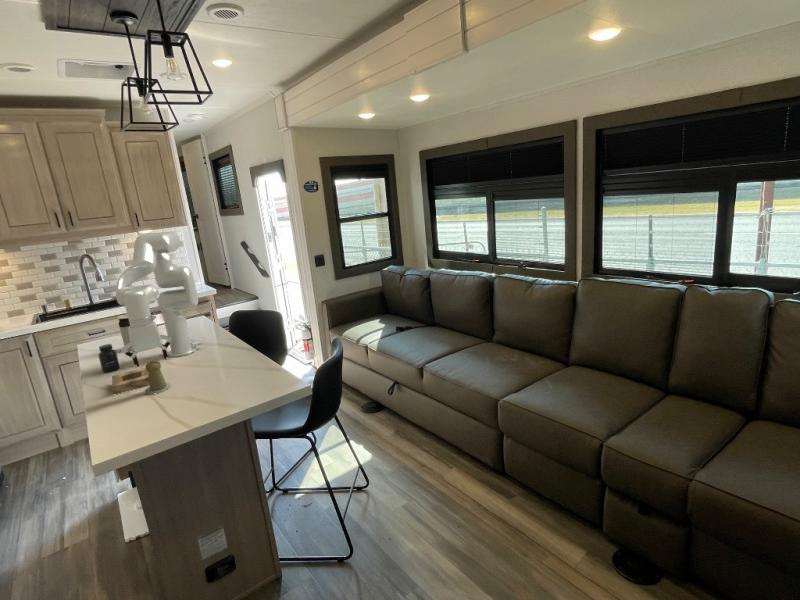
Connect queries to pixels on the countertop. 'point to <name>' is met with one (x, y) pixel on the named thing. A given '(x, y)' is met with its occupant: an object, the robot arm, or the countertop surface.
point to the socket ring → (130, 380)
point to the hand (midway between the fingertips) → (151, 362)
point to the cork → (155, 376)
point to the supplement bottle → (108, 358)
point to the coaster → (156, 391)
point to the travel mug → (125, 330)
